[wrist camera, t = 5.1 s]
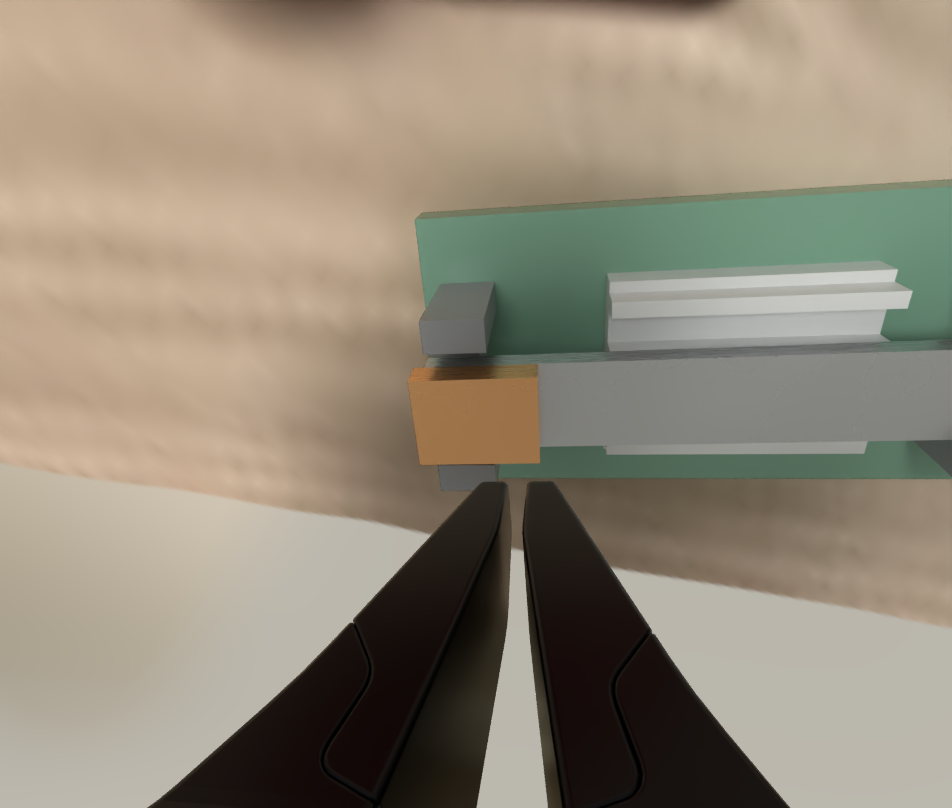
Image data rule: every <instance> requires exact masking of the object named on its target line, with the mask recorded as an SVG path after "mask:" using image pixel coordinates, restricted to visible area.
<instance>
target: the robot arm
mask: <svg viewBox="0 0 952 808" xmlns="http://www.w3.org/2000/svg"><path fill="white" fill-rule="evenodd" d="M522 534H523V548H524V563H525V577H526V591H527V606H528V620H529V634H530V645H531V654H532V663H533V673H534V682H535V691H536V701H537V709H538V719H539V728H540V737H541V746H542V756H543V765H544V774H545V782H546V783H545V784H546V792H547V802H548V808H790V807H789V806H788V805H787V804H786V802H785V801H784V800H783V799H782V798H781V796H780V795H779V794H778V793H777V792H776V790H775V789H774V788H773V787H772V786H771V784H769V782H768V781H767V780H766V779H765V778H764V776H763V775H762V774H761V773H760V772H759V770H758V769H757V768H756V767H755V765H754V764H753V763H752V762H751V761H750V760H749V758H748V757H747V756H746V755H745V754H744V753H743V751H742V750H741V749H740V748H739V746H738V745H737V744H736V743H735V742H734V740H733V739H732V738H731V737H730V736H729V734H728V733H727V732H726V731H725V730H724V728H723V727H722V726H721V725H720V724H719V722H718V721H717V720H716V718H715V717H714V716H713V715H712V713H711V712H710V711H709V710H708V708H707V707H706V706H705V705H704V703H703V702H702V701H701V700H700V698H699V697H698V696H697V695H696V693H695V692H694V691H693V689H692V688H691V686H690V685H689V683H688V682H687V681H686V679H685V678H684V676H683V675H682V674H681V672H680V671H679V669H678V668H677V667H676V665H675V664H674V662H673V661H672V660H671V658H670V657H669V655H668V654H667V652H666V651H665V649H664V648H663V646H662V644H661V643H660V642H659V640H658V638H657V637H656V636H655V635H654V634H652V630H651V628H650V627H649V625H648V624H647V622H646V621H645V619H644V618H643V616H642V615H641V613H640V612H639V610H638V609H637V607H636V606H635V604H634V602H633V601H632V600H631V598H630V596H629V595H628V593H627V592H626V590H625V589H624V587H623V586H622V584H621V583H620V581H619V580H618V578H617V577H616V575H615V574H614V572H613V571H612V569H611V568H610V566H609V565H608V563H607V561H606V560H605V558H604V557H603V555H602V554H601V552H600V551H599V549H598V548H597V546H596V545H595V543H594V542H593V540H592V539H591V537H590V536H589V534H588V533H587V531H586V530H585V528H584V527H583V525H582V524H581V522H580V521H579V519H578V518H577V516H576V514H575V513H574V511H573V510H572V508H571V507H570V505H569V504H568V502H567V501H566V499H565V498H564V496H563V495H562V493H561V492H560V490H559V489H558V487H557V486H556V484H555V483H554V482H551V481H532V482H529V483H528V484H527V490H526V499H525V508H524V518H523V531H522ZM511 535H512V530H511V514H510V501H509V490H508V485H507V483H506V482H481V483H480V484H479V485H478V486H477V487H476V488H475V489H474V490H473V491H472V492H471V493H470V494H469V496H468V497H467V498H466V499H465V500H464V501H463V502H462V503H461V504H460V505H459V506H458V507H457V508H456V509H455V511H454V512H453V513H452V514H451V515H450V516H449V517H448V518H447V519H446V520H445V521H444V522H443V523H442V524H441V526H440V527H439V528H438V529H437V530H436V531H435V532H434V533H433V534H432V535H431V536H430V537H429V539H428V540H427V541H426V542H425V543H424V544H423V545H422V546H421V547H420V548H419V549H418V550H417V551H416V552H415V553H414V554H413V556H412V557H411V558H410V559H409V560H408V561H407V562H406V563H405V564H404V565H403V566H402V568H400V570H399V571H398V572H397V573H396V574H395V575H394V576H393V577H392V578H391V579H390V580H389V581H388V582H387V583H386V585H385V586H384V587H383V588H382V589H381V590H380V591H379V592H378V593H377V594H376V595H375V596H374V598H373V599H372V600H371V601H370V602H369V603H368V604H367V605H366V606H365V607H364V608H363V609H362V610H361V611H360V612H359V613H358V615H357V616H356V617H355V618H354V620H353V622H354V624H353V623H349V624H348V625H347V626H346V627H345V628H344V629H343V630H342V631H341V633H340V634H339V635H338V636H337V637H336V638H335V639H334V640H333V641H332V642H331V643H330V644H329V645H328V646H327V647H326V648H325V649H324V650H323V651H322V652H321V653H320V654H319V655H318V656H317V658H315V659H314V660H313V661H312V662H311V663H310V664H309V665H308V666H307V667H306V669H305V670H304V671H303V672H301V674H300V675H298V676H297V677H296V678H295V679H294V680H293V681H292V682H291V683H290V684H289V685H287V686H286V687H285V688H284V689H283V690H282V691H281V692H280V693H279V694H278V695H277V696H276V697H274V698H273V699H272V700H271V701H270V702H269V703H268V704H267V705H266V706H265V707H263V708H262V709H261V710H260V711H259V712H258V713H257V714H256V715H254V716H253V717H252V718H251V719H250V720H249V721H248V722H247V723H245V724H244V725H243V726H242V727H241V728H240V729H239V730H238V731H236V732H235V733H234V734H233V735H232V736H231V737H230V738H229V739H227V741H225V742H224V743H223V744H222V745H221V746H219V748H217V749H216V750H215V751H214V752H213V753H212V754H211V755H209V756H208V757H207V758H206V759H205V760H204V761H203V762H201V763H200V764H199V765H198V766H197V767H196V768H195V769H194V770H192V771H191V772H190V773H189V774H188V775H187V776H186V777H185V778H184V779H182V780H181V781H180V782H179V783H178V784H177V785H175V787H173V788H172V789H171V790H169V791H168V792H167V793H166V794H165V795H163V796H162V797H161V798H160V799H159V800H157V801H156V802H155V803H153V804H152V805H150V806H149V807H148V808H476V807H477V801H478V795H479V790H480V784H481V778H482V772H483V766H484V760H485V754H486V749H487V743H488V736H489V731H490V725H491V719H492V713H493V707H494V701H495V696H496V689H497V684H498V678H499V672H500V667H501V661H502V655H503V649H504V643H505V636H506V629H507V620H508V606H509V603H508V602H509V583H510V581H509V580H510V558H511Z"/></svg>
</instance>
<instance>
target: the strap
mask: <svg viewBox="0 0 952 808" xmlns="http://www.w3.org/2000/svg"><path fill="white" fill-rule="evenodd" d="M408 388H409V394H410V401H411V408H412V414H413V421H414V428H415V434H416V441H417V448H418V454H419V461H420V465H450V464H525V463H540V447H554V446H614V445H674V444H734V443H794V442H854V441H914V440H952V339H947V340H919V341H891V342H864V343H836V344H808V345H780V346H752V347H724V348H696V349H668V350H640V351H612V352H584V353H556V354H528V355H500V356H472V357H444V358H428V359H427V361H426V363H425V366H424V368H413V371H412V373H411V375H410V377H409V380H408Z"/></svg>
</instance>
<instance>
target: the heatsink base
mask: <svg viewBox="0 0 952 808" xmlns="http://www.w3.org/2000/svg"><path fill="white" fill-rule="evenodd" d="M415 226H416V234H417V242H418V250H419V258H420V266H421V274H422V282H423V291H424V299H425V307H426V310H425V311H424V313H423V315H422V317H421V318H420V320H419V326H420V334H421V341H422V349H423V355H429V357H428V358H444V357H472V356H500V355H528V354H556V353H584V352H612V351H640V350H668V349H696V348H724V347H752V346H780V345H808V344H836V343H864V342H891V341H919V340H947V339H952V179H951V180H935V181H919V182H904V183H888V184H872V185H856V186H840V187H824V188H809V189H793V190H777V191H761V192H745V193H729V194H714V195H698V196H682V197H666V198H650V199H634V200H619V201H603V202H587V203H571V204H555V205H539V206H523V207H508V208H492V209H476V210H460V211H444V212H428V213H421V214H420V215H419V216H418V217H417V218H416V219H415ZM438 470H439V478H440V485H441V491H473V490H474V489H475V488H476V487H477V486H478V485H479V484H480V483H481V482H498V478H725V479H952V440H914V441H854V442H794V443H734V444H674V445H614V446H554V447H540V463H525V464H450V465H438Z"/></svg>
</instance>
